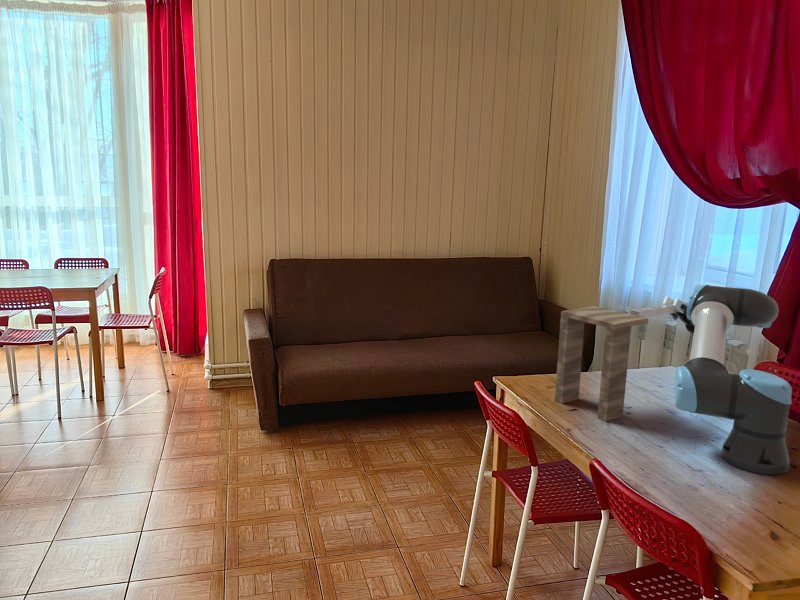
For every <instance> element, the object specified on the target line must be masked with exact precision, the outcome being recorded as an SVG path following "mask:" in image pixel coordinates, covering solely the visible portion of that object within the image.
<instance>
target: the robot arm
mask: <svg viewBox="0 0 800 600" xmlns="http://www.w3.org/2000/svg"><path fill="white" fill-rule="evenodd" d="M683 302H684V301H682V300H681V299H679V298H678V297H676V298H675V300H673V299H671V297H669V295H665V297H664V299H663V302H662V305H664V304H669V303H674V304H673V306H675V307H676V308H677V309H678V310H679V311H680V312H676V313H671V314H669V315H670V316H671V317H672V319H673V320H676V321H677V320H680V321H681V322H682V323H683V324H684V325H685V328H686V330H687V331H688V333H689V334H691V335H693V336H692V342H691V349H690V355H689V360H687V361H686V362H684V364H683V365H681V366H677V367H676V368H675V373H674V389H673V390H674V391H673V393H674V397H673V398H674V405H675V407H676V409H678V410H681V411H684V412H689V413H691V414H698V415H702V416H703V415H704V416H711V417H716V418H723V419H729V420H732V421H733V424H732V428H731V430H730V432H729V434H728V436H727V437H726V439H725V441H724V443H723V445H722V447H721V457H722V458H723V460H725V461H726V462H727V463H729V464H730V465H731V466H734V467H735V468H738V469H741V470H744V471H747V472H750V473H751V472H752V473H755V474H758V475H759V474H760V475H769V476H770V475H771V476H773V475H777V476H778V475H783V474H785V473H788V471H789V469H790V463H791V460H790V455H789V451H788V447H787V442H786V435H787V433H786V432H787V428H788V427H787V426H788V420H789V413H790V406H791V405H792V392H793V389H792V385H791V384H790V383H789V382H788V381H787V380H786V379H784V378H782V377H779V376H777V375H775V374H773V373H770V372H766V371H762V370H759V369H758V370H756V369H752V368H751V369H750V368H749V369H748V368H746V369H745V368H744V369H742V370H740V372H739V373H738V374H734V373H733V374H732V373H729V370H728V368H727V367H726V366H725V364H724V363H725V355H726V354H725V353H726V352H725V351H726V345H727V344H728V338H727V331H728V330H729V329H730V328H731V327H732V326H736V327H738V326H740V327H753V328H759V329H763V328H764V329H765V328H766V329H769V328H771V326H772V323H774V321H775V320H776V319H777V318H778V315H779V310H780V309H779V306H778V303H777V301H775V299H774V298H773V297H771V296H769V295H768V294H766V293H763V292H761V291H758V290H756V289H750V288H742V287H732V286H731V287H730V286H729V287H728V286H719V285H711V284H705V285H704V284H698V285H694V287H693V288H692V289H691V292H690V295H689V299H688V302H687V303H688V306H686V305H685V304H684V303H683Z"/></svg>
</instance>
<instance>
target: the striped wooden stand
mask: <svg viewBox="0 0 800 600" xmlns="http://www.w3.org/2000/svg"><path fill="white" fill-rule="evenodd" d="M585 323H588V324H592V325H596V326H600V327H604V328H605V329H604V330H605V331H604V341H603V351H602V352H603V353H602V365H601V376H600V384H599V385H600V388H599V398H598V411H597V420H601V421H604V422H610V421H612V420H616V419H619V418H622V417H623V415H624V406H625V397H626V396H625V395H626V386H627V385H626V384H627V377H628V375H627V374H628V366H629V365H628V364H629V355H630V354H629V353H630V343H631V333H632V327H633V326H639V325H644V324H648V323H649V318H646V317H641V316H637V315H632V314H630V313H627V312H623V311H619V310H613V309H609V308H605V307H600V306H596V305H594V306H585V307H579V308H572V309H566V310H562V311H561V312H560V323H559V339H558V353H557V363H556V379H555V381H556V382H555V391H554V394H555V395H554V401H555V402H557V403H559V404H566V403H569V402H572V401H573V402H575V401H578V400H579V399H580V398H579V397H580V386H581V385H580V384H581V374H582V373H581V372H582V363H583V358H582V357H583V350H584V349H583V347H584V337H585V326H586V325H585Z"/></svg>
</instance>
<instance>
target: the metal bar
mask: <svg viewBox="0 0 800 600" xmlns="http://www.w3.org/2000/svg"><path fill="white" fill-rule="evenodd" d="M682 302H683V303H684V304H685V305H686V306H688V302H687V301H682ZM673 304H674V303H669V304H658V305H652V306H648V307H641V308H635V309H631V310H630V313H629V314H632V315H637V316H641V317H646V318H648V319H650V318H655V317H659V316H664V315H670V314H671V313H676V312H680V311H679V310H678V309H677V308H676V307H675V306H673Z"/></svg>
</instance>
